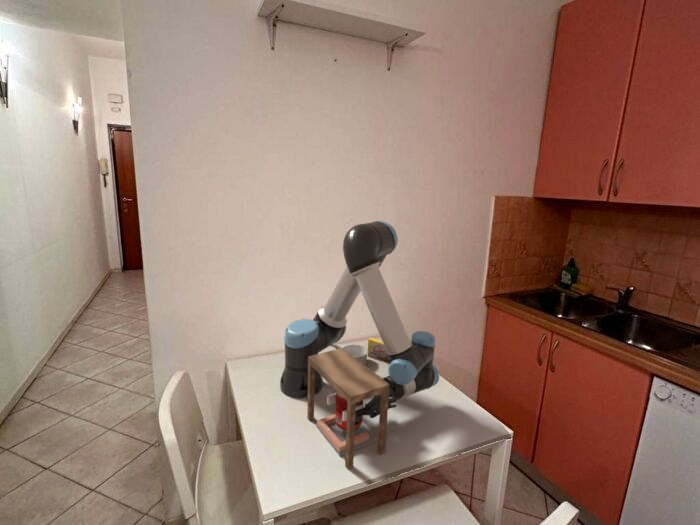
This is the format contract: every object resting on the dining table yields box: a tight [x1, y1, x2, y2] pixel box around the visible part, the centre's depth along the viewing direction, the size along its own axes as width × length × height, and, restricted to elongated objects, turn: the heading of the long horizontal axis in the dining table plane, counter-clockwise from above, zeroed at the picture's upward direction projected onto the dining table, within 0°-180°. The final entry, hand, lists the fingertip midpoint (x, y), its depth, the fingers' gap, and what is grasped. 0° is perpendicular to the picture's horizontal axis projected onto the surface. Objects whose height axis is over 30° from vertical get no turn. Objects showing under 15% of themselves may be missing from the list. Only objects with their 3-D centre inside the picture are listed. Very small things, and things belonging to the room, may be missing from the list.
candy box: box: [367, 337, 391, 365], centre depth 150 cm, size 16×2×8 cm, turn 55°
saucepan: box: [329, 343, 368, 366], centre depth 151 cm, size 12×20×6 cm, turn 61°
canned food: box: [334, 390, 364, 430], centre depth 106 cm, size 8×8×11 cm
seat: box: [315, 413, 377, 457], centre depth 107 cm, size 12×14×2 cm
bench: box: [306, 348, 389, 470], centre depth 105 cm, size 12×24×21 cm, turn 32°
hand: (335, 408), depth 103 cm, fingers closed on canned food, 8 cm apart
